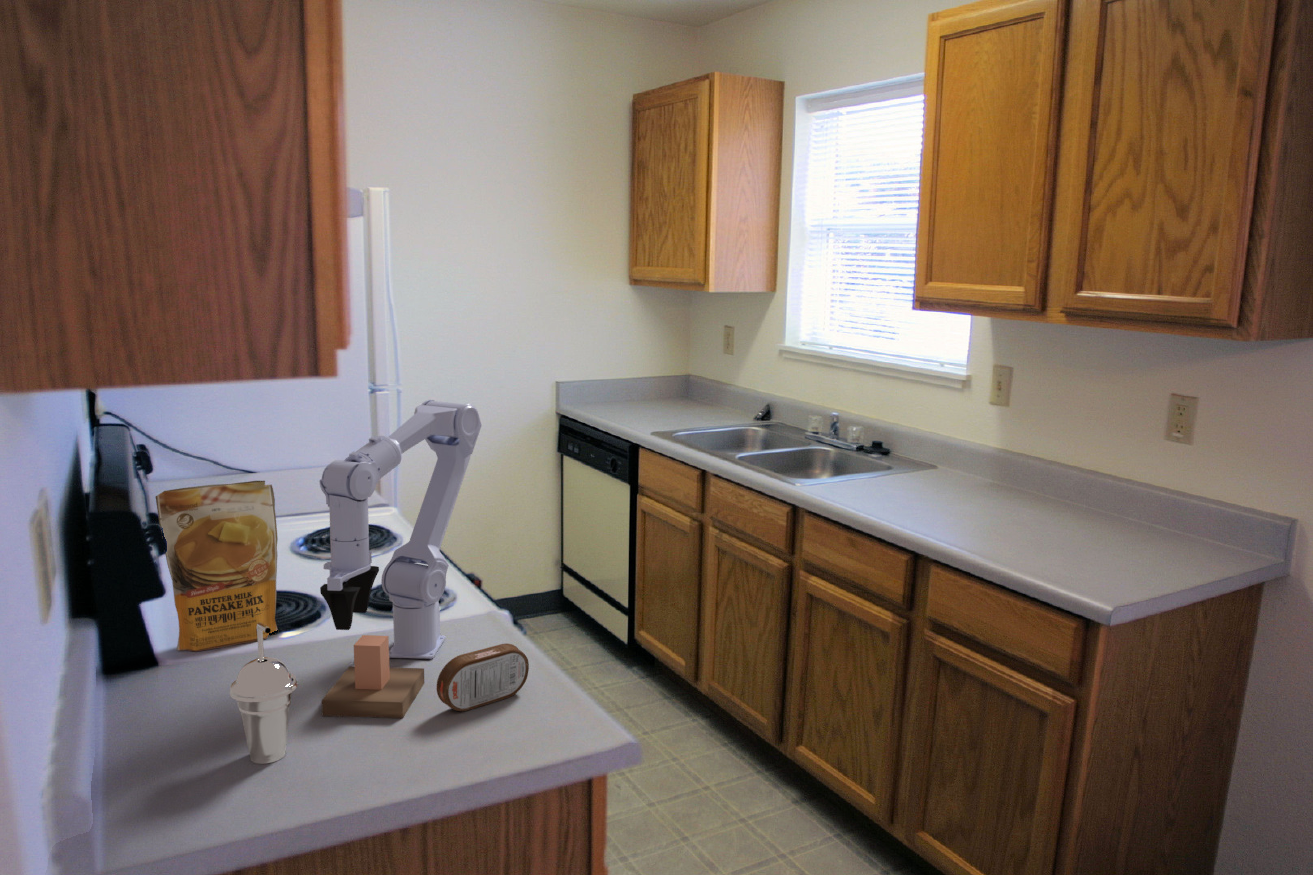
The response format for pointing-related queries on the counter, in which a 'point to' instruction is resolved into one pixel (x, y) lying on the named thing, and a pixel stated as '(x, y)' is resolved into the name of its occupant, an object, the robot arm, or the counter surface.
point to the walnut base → (374, 695)
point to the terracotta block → (371, 662)
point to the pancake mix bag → (221, 561)
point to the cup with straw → (264, 703)
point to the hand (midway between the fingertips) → (351, 620)
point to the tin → (482, 677)
